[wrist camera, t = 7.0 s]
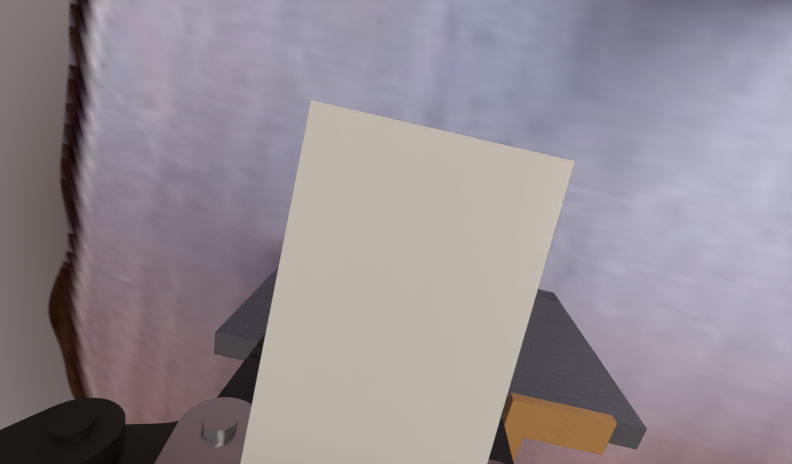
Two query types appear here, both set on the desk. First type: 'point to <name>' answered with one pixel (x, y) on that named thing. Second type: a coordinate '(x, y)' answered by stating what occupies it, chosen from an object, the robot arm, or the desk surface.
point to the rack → (531, 383)
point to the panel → (400, 293)
